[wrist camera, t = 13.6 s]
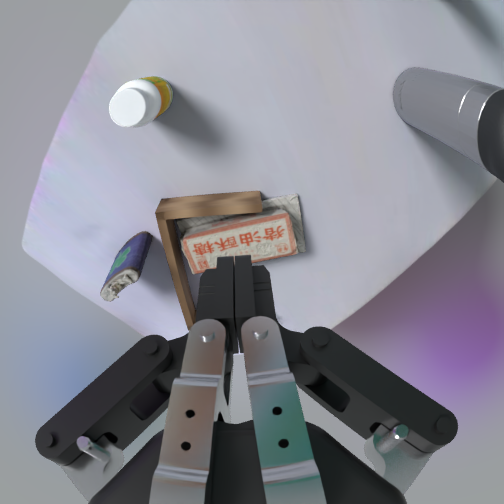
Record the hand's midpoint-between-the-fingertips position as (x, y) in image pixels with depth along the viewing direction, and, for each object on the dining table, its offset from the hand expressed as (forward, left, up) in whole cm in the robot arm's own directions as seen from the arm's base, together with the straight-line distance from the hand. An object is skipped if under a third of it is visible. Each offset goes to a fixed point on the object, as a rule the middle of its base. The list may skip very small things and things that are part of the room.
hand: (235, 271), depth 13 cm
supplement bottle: (+10, -6, -27) cm, 30 cm away
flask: (+18, +17, -27) cm, 37 cm away
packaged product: (0, +16, -28) cm, 32 cm away
